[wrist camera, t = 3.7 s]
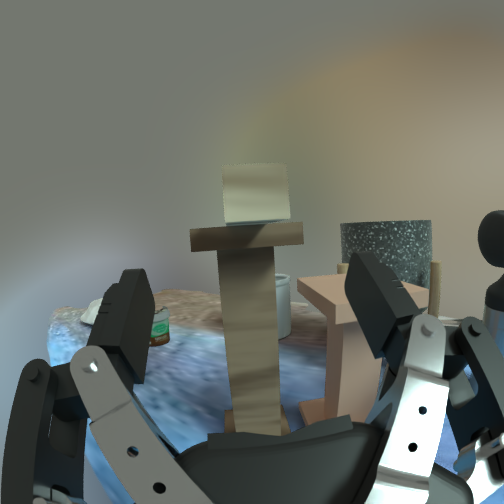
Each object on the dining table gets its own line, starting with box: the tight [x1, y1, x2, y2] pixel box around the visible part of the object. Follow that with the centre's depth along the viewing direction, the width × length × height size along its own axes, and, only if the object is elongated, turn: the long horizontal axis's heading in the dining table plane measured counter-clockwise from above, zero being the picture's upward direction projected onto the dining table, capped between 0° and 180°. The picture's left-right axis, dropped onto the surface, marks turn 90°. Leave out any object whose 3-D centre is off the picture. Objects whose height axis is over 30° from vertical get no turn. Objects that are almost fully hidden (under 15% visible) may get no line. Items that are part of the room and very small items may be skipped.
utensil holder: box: [275, 274, 291, 339], centre depth 83 cm, size 15×15×18 cm
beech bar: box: [222, 163, 290, 226], centre depth 27 cm, size 26×3×3 cm, turn 5°
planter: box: [337, 220, 441, 319], centre depth 60 cm, size 22×22×32 cm
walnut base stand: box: [190, 222, 304, 436], centre depth 33 cm, size 16×10×32 cm, turn 5°
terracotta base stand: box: [297, 273, 429, 426], centre depth 35 cm, size 16×12×24 cm
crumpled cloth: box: [81, 298, 103, 325], centre depth 97 cm, size 24×35×9 cm
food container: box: [149, 306, 170, 346], centre depth 78 cm, size 12×6×10 cm, turn 151°
